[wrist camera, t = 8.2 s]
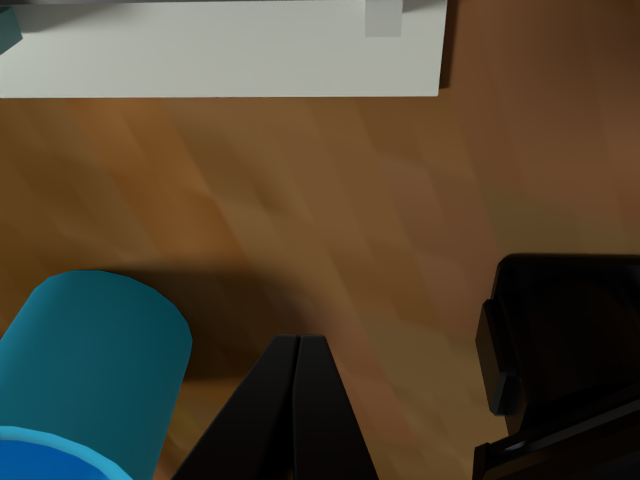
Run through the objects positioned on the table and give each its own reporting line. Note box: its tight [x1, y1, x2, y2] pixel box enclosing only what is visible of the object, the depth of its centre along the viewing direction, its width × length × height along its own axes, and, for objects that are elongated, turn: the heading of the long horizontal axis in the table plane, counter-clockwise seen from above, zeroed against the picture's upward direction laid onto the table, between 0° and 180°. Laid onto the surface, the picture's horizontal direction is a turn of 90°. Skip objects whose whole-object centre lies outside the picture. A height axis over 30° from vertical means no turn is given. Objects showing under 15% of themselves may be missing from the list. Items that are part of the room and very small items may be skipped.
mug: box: [0, 270, 193, 480], centre depth 26 cm, size 12×8×8 cm
